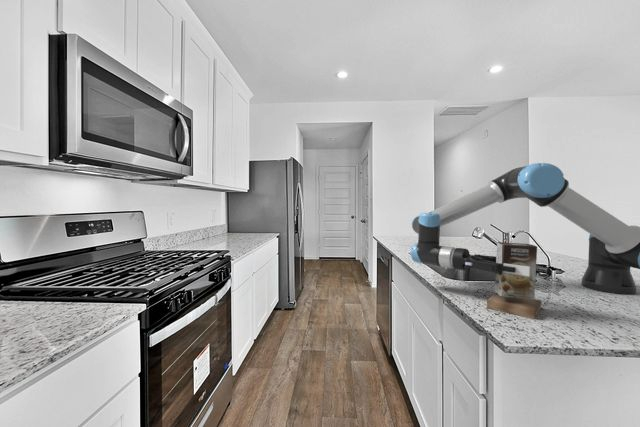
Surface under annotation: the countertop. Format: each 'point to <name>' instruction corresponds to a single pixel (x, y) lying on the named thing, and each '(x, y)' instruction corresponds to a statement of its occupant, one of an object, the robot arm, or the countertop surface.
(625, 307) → the countertop surface
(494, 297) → the walnut board
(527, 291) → the brown food box
